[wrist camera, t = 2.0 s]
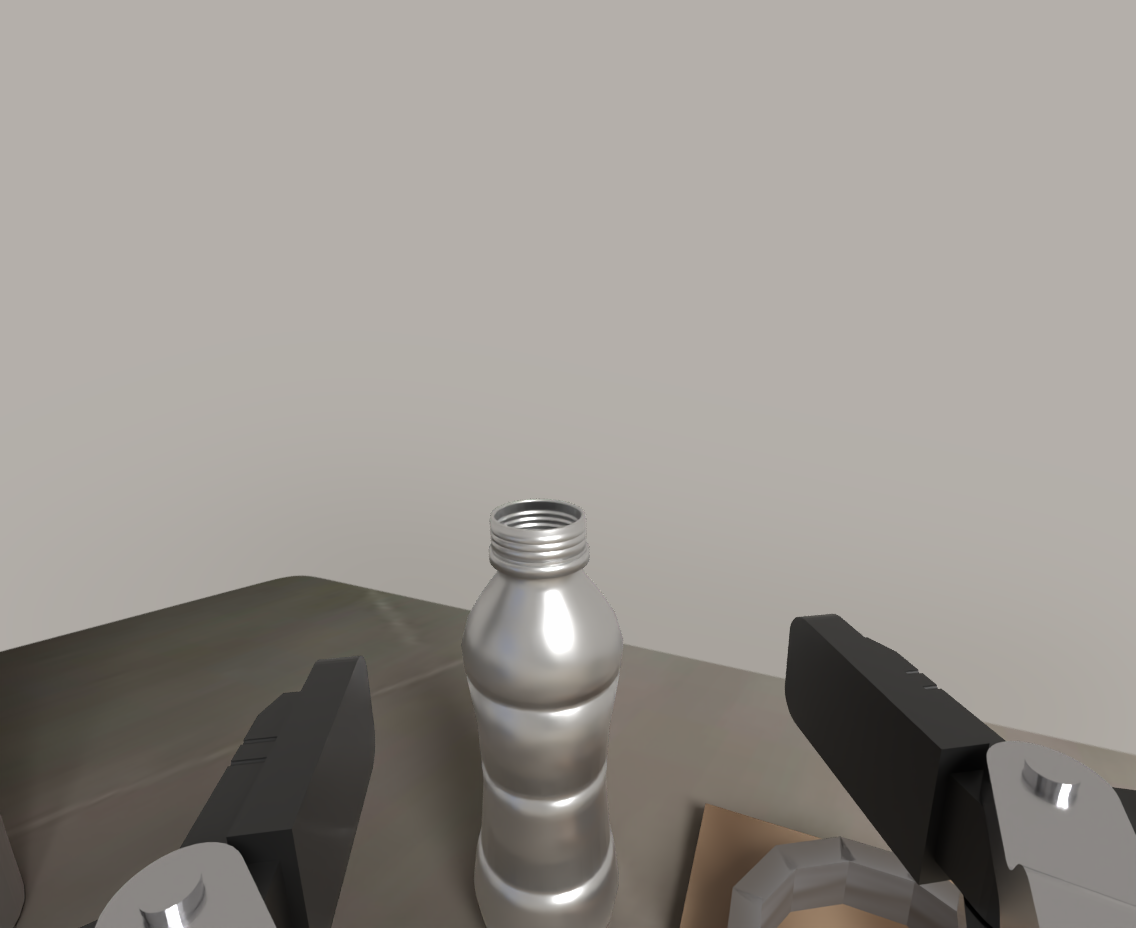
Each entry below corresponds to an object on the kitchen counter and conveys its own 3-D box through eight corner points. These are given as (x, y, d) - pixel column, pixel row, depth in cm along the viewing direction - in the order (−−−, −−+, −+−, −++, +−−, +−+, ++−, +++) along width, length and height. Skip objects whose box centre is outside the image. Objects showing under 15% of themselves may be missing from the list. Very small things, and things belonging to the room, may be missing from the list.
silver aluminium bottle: (533, 827, 31) (522, 479, 26) (643, 897, 27) (655, 506, 22) (446, 929, 26) (410, 521, 21) (567, 1032, 22) (560, 565, 17)
